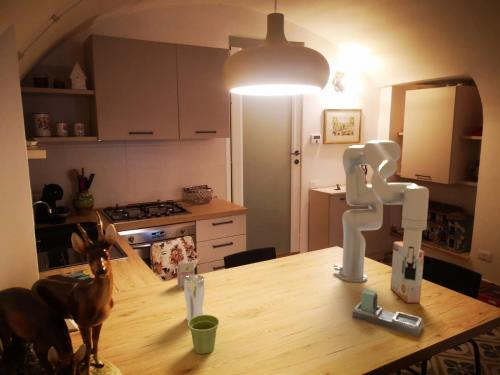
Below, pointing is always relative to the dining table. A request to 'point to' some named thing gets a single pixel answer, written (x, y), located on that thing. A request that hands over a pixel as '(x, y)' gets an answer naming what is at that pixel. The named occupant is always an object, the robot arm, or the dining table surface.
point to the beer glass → (194, 295)
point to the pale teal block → (404, 268)
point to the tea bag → (184, 272)
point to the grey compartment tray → (390, 320)
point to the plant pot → (203, 332)
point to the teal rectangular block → (369, 300)
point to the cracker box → (401, 287)
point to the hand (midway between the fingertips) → (410, 276)
